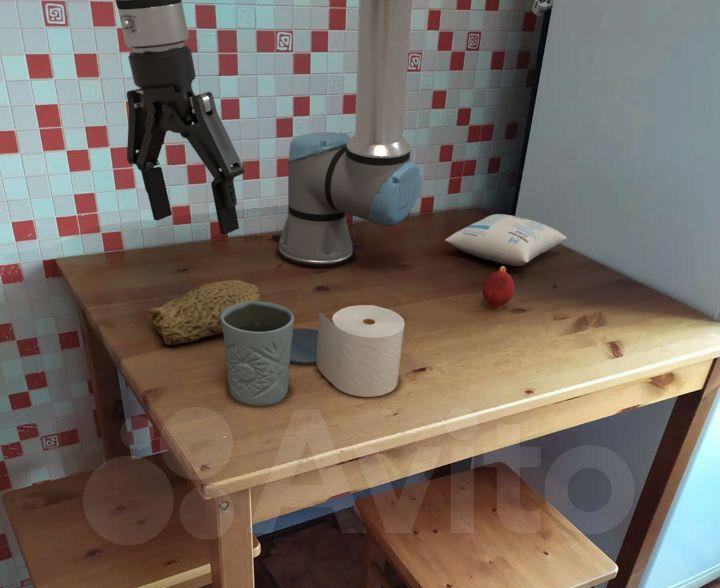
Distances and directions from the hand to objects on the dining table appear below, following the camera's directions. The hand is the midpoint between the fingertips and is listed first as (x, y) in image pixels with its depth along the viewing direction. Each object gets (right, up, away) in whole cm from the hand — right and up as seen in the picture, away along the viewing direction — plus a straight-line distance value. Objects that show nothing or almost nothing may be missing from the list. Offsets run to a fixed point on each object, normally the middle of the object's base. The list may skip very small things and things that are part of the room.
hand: (195, 224), depth 103 cm
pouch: (+54, +13, +60) cm, 82 cm away
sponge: (-3, -9, +24) cm, 26 cm away
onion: (+48, -3, +39) cm, 62 cm away
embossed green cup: (+7, -22, +9) cm, 25 cm away
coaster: (+13, -13, +20) cm, 28 cm away
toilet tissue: (+22, -20, +13) cm, 33 cm away
